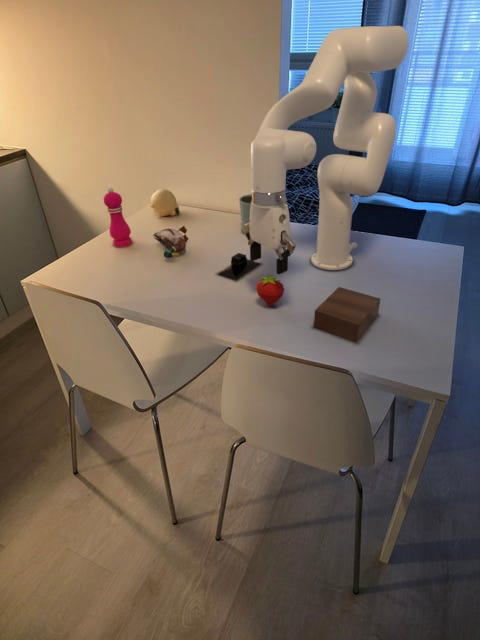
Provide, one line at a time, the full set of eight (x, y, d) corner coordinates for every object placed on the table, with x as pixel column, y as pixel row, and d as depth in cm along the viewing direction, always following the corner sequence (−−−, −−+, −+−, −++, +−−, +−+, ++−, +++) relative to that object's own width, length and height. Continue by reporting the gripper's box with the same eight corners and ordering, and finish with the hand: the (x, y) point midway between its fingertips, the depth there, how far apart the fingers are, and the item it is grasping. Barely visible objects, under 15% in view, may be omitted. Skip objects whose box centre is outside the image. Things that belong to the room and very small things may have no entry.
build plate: (236, 281, 121) (235, 267, 118) (217, 274, 125) (215, 261, 122) (260, 264, 129) (259, 250, 126) (241, 258, 133) (241, 245, 130)
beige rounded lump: (169, 227, 168) (186, 207, 165) (145, 208, 161) (163, 188, 159) (166, 218, 176) (183, 199, 173) (144, 200, 169) (160, 180, 166)
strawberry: (278, 315, 105) (278, 280, 99) (252, 308, 108) (251, 275, 103) (287, 303, 109) (288, 270, 104) (262, 297, 112) (261, 265, 107)
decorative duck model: (174, 248, 127) (133, 241, 132) (177, 268, 132) (138, 261, 137) (195, 225, 137) (156, 220, 142) (198, 245, 142) (160, 239, 147)
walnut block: (337, 303, 108) (338, 286, 105) (377, 315, 103) (380, 298, 100) (313, 327, 100) (314, 310, 97) (356, 342, 94) (358, 324, 91)
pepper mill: (137, 241, 149) (125, 186, 137) (122, 249, 144) (109, 192, 132) (123, 238, 152) (110, 183, 141) (108, 245, 147) (94, 189, 136)
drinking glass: (242, 225, 156) (241, 194, 149) (269, 225, 155) (269, 193, 148) (239, 236, 148) (237, 203, 141) (267, 236, 146) (266, 203, 140)
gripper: (308, 201, 88) (304, 272, 98) (256, 185, 100) (257, 250, 109) (282, 210, 85) (281, 283, 94) (231, 192, 96) (235, 259, 106)
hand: (268, 265), depth 102 cm, fingers open, 9 cm apart
